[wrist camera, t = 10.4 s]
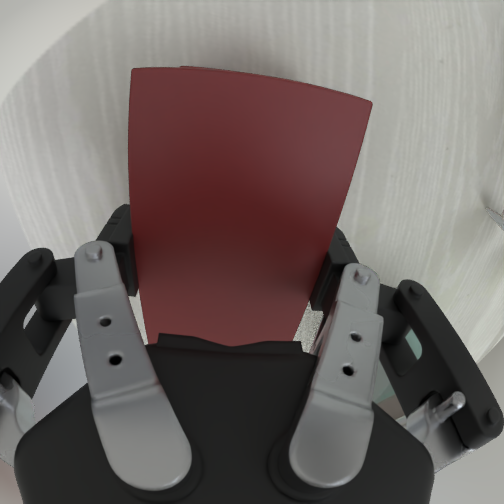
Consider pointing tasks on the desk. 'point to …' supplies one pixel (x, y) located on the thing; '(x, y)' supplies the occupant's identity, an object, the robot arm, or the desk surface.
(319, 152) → the thin oxblood book
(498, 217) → the eyeglasses
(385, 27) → the desk surface
